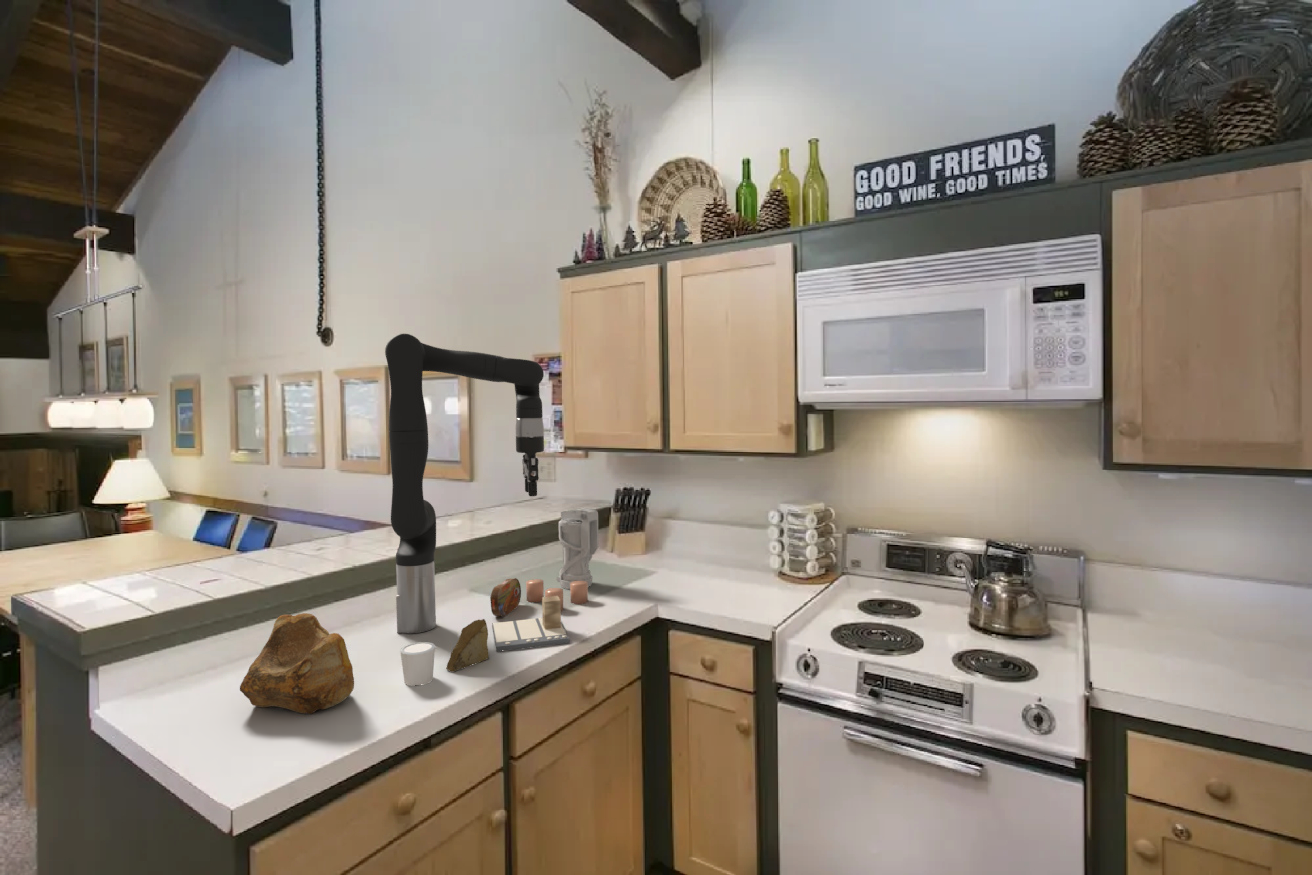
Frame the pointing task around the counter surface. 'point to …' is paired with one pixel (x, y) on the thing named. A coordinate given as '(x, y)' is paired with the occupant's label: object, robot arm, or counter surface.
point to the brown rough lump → (300, 667)
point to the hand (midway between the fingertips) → (530, 493)
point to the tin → (505, 597)
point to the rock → (470, 646)
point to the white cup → (418, 663)
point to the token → (551, 612)
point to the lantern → (577, 544)
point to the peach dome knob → (555, 594)
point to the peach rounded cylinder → (534, 590)
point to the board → (526, 634)
